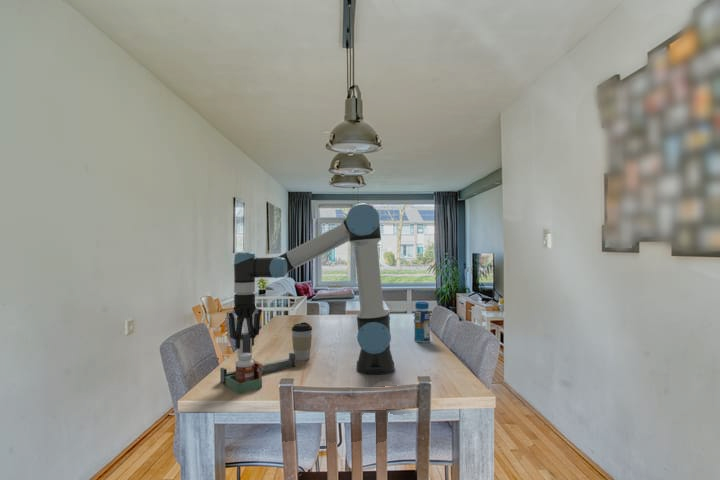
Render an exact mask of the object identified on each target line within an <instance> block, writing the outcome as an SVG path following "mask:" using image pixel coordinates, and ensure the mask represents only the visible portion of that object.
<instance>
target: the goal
mask: <svg viewBox="0 0 720 480" xmlns="http://www.w3.org/2000/svg"><path fill="white" fill-rule="evenodd" d="M224 386H226V388H229V389H230V390H232V391H234V392H235V393H236V394H238V395H239V394H242V393H247V392H250V391H253V390H258V389H261V388H263V378H262V379H261V378H259V379H255V380H251V381H247V382H243V383H239V382H237V381H236V374H235V375H230V376H226V377H225V384H224Z"/></svg>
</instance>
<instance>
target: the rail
mask: <svg viewBox="0 0 720 480" xmlns="http://www.w3.org/2000/svg"><path fill="white" fill-rule="evenodd" d="M262 367H263V371H262V375H265V374H268V373H271V372H278V371H280V370H284V369H289V368H294V367H296V359H295V354H294V352H289V353H288V358H284V359H281V360H277V361H271V362H268V363H263V364H262ZM235 374H236V370H233V371H228V372H227V368H225V367H220V376H219V377H220V383H222V385H225V377H226V376H230V375H235Z"/></svg>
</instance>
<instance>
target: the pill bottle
mask: <svg viewBox="0 0 720 480" xmlns="http://www.w3.org/2000/svg"><path fill="white" fill-rule="evenodd" d="M251 359H253V353H252V354H251V353H241V354H239V355H238V354H237V360H236V361H237V363H236V362H235V371H236V381H237V382H239V383H243V382H247V381H251V380H254V361H253V360H254V359H253V360H251Z"/></svg>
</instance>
